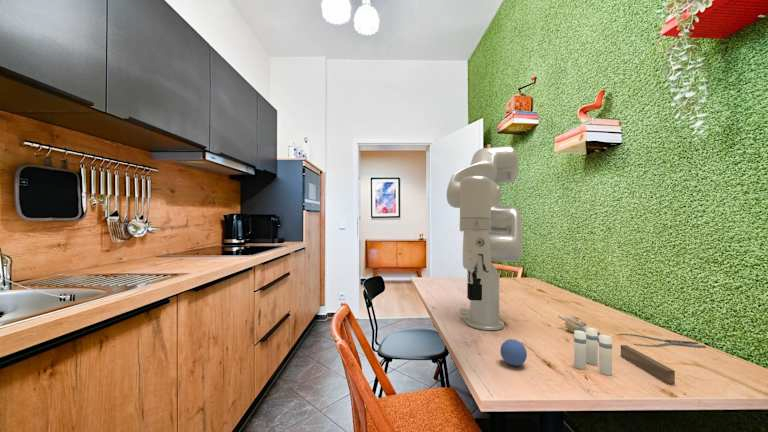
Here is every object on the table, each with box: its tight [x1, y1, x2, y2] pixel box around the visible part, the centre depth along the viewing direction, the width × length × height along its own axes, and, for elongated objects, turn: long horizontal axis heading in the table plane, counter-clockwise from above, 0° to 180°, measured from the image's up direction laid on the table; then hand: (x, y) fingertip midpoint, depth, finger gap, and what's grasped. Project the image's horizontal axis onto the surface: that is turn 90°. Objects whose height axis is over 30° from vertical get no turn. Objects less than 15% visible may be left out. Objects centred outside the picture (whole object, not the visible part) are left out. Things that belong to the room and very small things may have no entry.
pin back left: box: [586, 326, 599, 366], centre depth 76 cm, size 2×2×8 cm
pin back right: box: [598, 333, 613, 376], centre depth 71 cm, size 2×2×8 cm
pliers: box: [618, 333, 707, 349], centre depth 91 cm, size 10×1×20 cm
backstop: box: [620, 344, 676, 385], centre depth 73 cm, size 2×14×3 cm, turn 177°
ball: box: [499, 338, 528, 367], centre depth 74 cm, size 6×6×6 cm
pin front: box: [573, 330, 587, 370], centre depth 74 cm, size 2×2×8 cm
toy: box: [557, 314, 601, 341], centre depth 96 cm, size 10×5×15 cm
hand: (474, 299), depth 75 cm, fingers closed
